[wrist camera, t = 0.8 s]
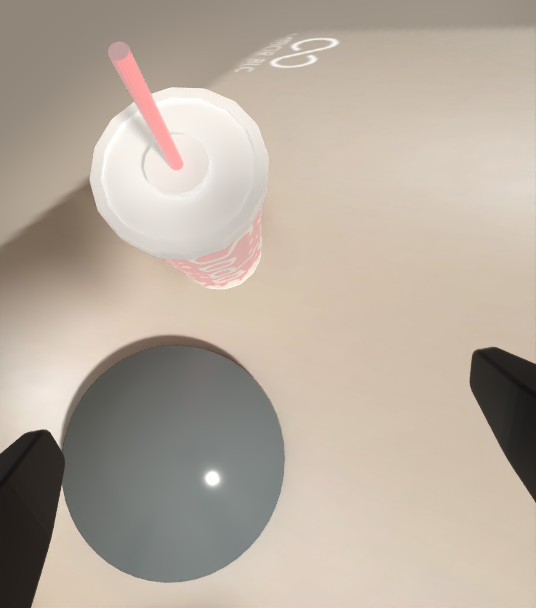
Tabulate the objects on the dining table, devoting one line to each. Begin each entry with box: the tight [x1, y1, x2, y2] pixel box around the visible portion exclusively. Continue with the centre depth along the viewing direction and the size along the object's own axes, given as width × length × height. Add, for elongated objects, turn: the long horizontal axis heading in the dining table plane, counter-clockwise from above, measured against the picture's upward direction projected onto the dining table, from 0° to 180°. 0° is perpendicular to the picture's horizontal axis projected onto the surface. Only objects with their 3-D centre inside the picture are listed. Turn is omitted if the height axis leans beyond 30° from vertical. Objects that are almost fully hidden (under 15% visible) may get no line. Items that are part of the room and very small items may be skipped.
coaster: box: [62, 345, 285, 583], centre depth 20 cm, size 11×11×1 cm
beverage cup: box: [89, 42, 269, 289], centre depth 16 cm, size 6×6×14 cm
